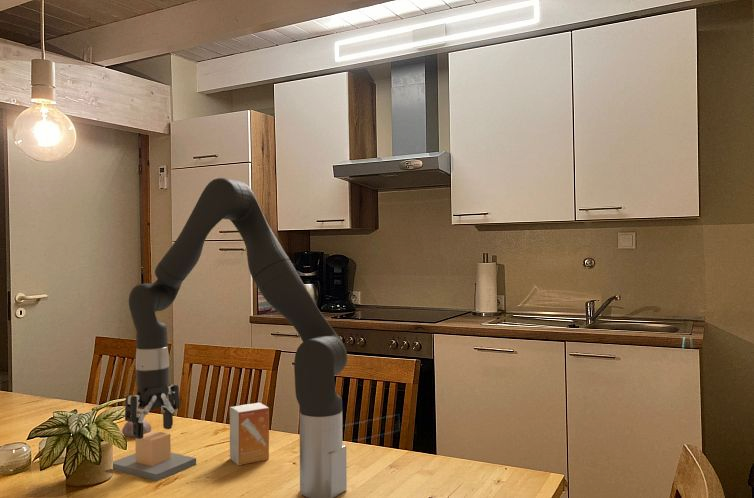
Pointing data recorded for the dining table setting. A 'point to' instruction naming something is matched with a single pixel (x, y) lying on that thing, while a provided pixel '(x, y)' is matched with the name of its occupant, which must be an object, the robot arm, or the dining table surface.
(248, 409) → the small box
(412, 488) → the dining table surface
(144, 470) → the flat gray peg block
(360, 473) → the dining table surface
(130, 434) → the garlic bulb
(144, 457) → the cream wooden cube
